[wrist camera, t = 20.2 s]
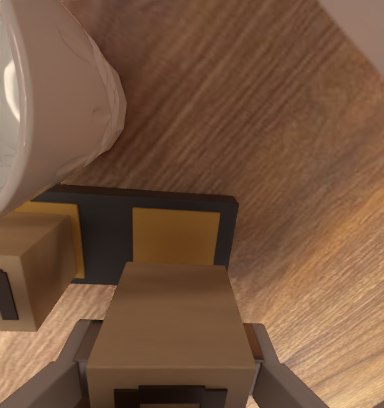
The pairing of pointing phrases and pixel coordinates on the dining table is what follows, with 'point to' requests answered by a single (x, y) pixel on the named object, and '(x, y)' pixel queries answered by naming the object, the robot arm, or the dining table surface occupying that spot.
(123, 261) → the word board
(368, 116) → the dining table surface
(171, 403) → the tile
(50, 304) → the tile
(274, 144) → the dining table surface
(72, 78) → the white cup
